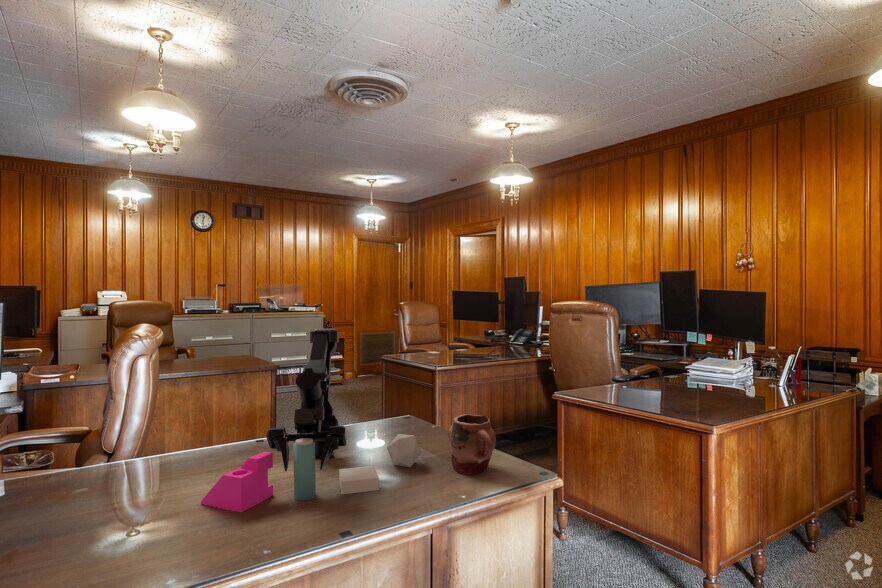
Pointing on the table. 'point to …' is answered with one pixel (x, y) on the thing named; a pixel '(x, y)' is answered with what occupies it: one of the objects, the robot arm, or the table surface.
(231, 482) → the bracket
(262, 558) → the table surface
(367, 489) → the block
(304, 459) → the thermos
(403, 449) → the die
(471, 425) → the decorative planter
